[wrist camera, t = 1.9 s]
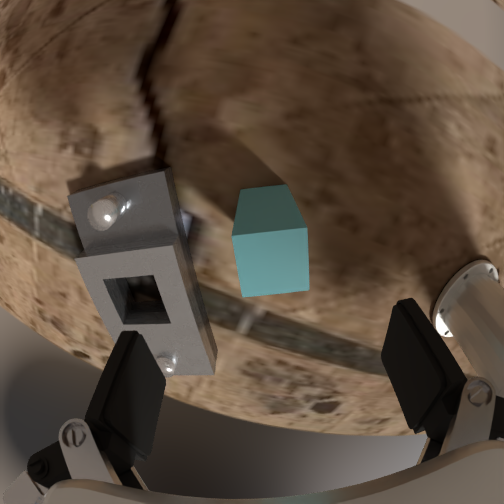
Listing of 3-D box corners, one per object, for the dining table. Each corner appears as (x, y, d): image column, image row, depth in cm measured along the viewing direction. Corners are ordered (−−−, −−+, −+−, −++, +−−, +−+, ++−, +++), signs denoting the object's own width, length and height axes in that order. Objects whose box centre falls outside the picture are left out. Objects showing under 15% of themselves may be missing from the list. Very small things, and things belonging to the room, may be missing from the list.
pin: (286, 184, 23) (307, 227, 14) (290, 226, 25) (309, 290, 16) (240, 189, 23) (231, 235, 15) (246, 231, 25) (242, 297, 16)
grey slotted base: (171, 166, 22) (151, 179, 18) (217, 350, 32) (213, 381, 28) (78, 190, 23) (49, 206, 19) (141, 351, 33) (130, 379, 29)
